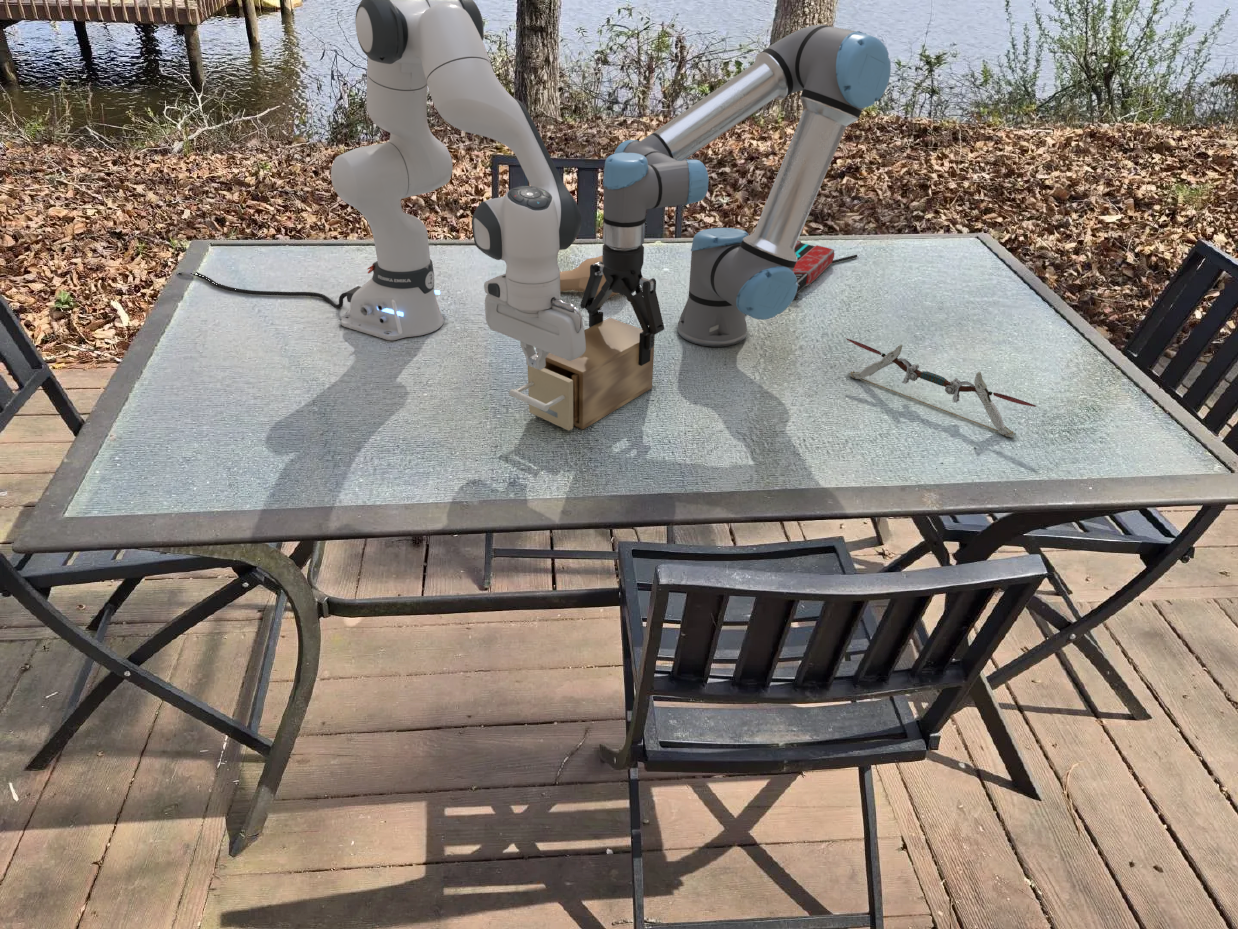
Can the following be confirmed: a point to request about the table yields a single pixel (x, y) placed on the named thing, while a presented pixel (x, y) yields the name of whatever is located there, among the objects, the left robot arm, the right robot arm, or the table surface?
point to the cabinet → (608, 370)
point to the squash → (580, 277)
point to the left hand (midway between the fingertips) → (536, 366)
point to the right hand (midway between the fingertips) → (620, 353)
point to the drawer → (552, 395)
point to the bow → (950, 387)
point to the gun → (810, 263)
